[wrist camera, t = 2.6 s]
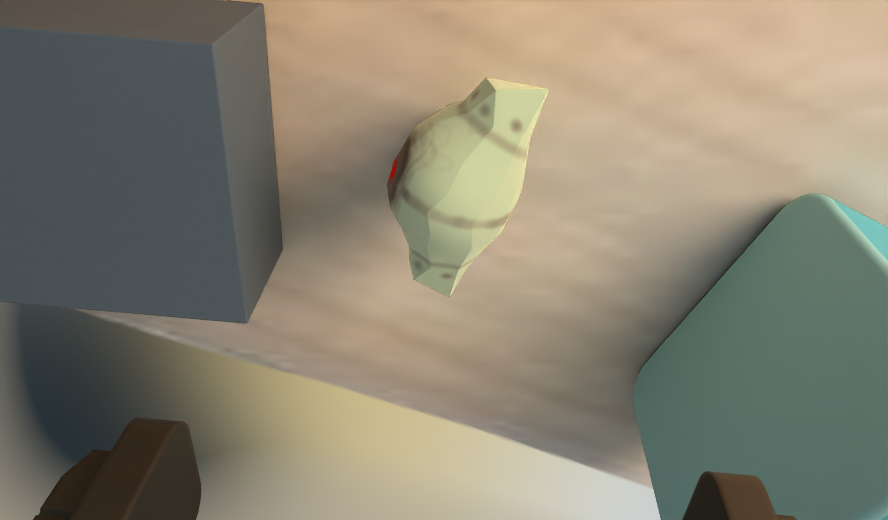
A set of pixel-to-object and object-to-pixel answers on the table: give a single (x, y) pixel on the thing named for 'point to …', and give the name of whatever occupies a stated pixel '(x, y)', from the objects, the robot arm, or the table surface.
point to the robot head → (462, 178)
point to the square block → (137, 157)
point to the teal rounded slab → (781, 372)
